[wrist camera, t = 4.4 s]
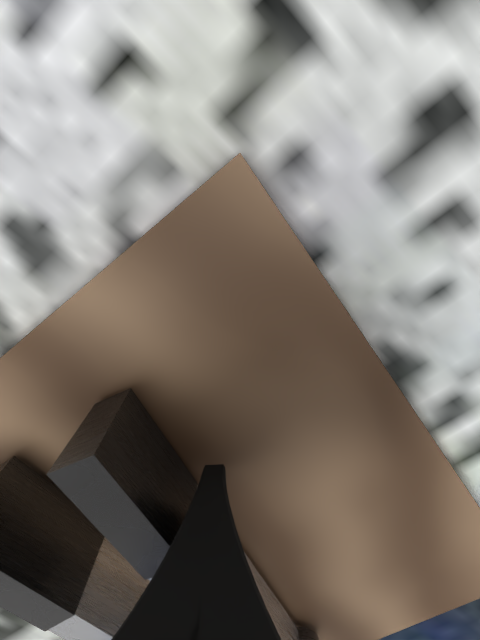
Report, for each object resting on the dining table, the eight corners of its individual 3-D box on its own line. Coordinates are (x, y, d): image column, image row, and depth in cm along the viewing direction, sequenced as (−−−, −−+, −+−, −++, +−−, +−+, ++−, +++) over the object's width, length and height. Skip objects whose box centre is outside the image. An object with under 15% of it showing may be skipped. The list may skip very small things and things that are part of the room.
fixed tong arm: (247, 628, 16) (250, 720, 13) (224, 638, 17) (222, 730, 14) (14, 455, 12) (-57, 537, 9) (-11, 474, 12) (-87, 558, 9)
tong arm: (325, 646, 17) (345, 742, 14) (279, 659, 17) (288, 755, 14) (146, 381, 11) (112, 450, 8) (80, 409, 11) (22, 487, 8)
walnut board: (243, 660, 21) (243, 693, 19) (-85, 435, 14) (-122, 462, 12) (503, 547, 17) (527, 578, 16) (239, 159, 10) (240, 152, 9)
